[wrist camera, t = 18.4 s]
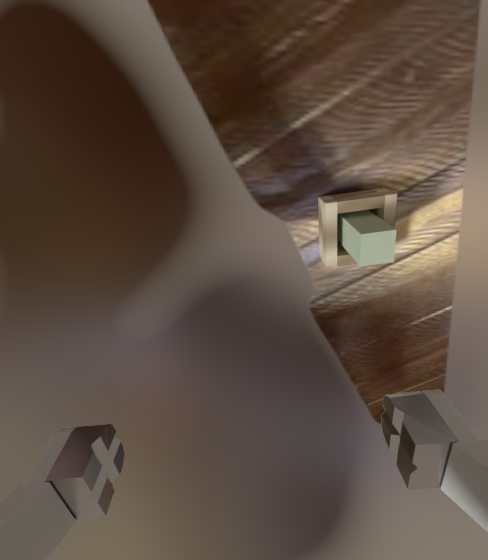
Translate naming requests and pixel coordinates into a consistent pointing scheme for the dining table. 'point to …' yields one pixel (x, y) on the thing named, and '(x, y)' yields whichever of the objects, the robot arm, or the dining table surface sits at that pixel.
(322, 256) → the beige square socket frame
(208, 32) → the dining table surface
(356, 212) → the sage-green peg
